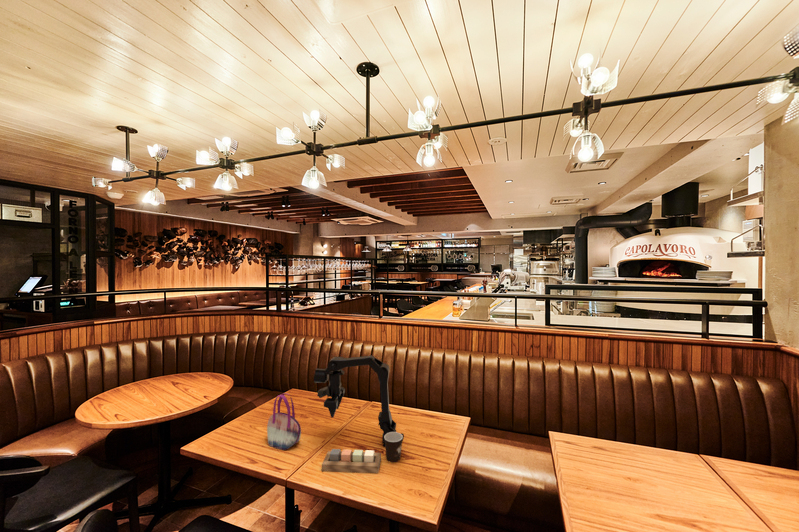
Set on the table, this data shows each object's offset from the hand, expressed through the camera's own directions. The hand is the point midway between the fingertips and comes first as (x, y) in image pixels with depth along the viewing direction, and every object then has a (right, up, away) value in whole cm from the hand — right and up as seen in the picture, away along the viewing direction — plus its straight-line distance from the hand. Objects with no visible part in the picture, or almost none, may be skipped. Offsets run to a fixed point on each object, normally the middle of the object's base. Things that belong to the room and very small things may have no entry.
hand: (334, 413), depth 160 cm
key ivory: (+19, -13, -19) cm, 30 cm away
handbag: (-26, -15, -1) cm, 30 cm away
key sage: (+14, -13, -19) cm, 27 cm away
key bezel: (+12, -15, -19) cm, 27 cm away
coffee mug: (+32, -15, -13) cm, 37 cm away
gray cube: (+4, -13, -18) cm, 23 cm away
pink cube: (+9, -13, -19) cm, 24 cm away
